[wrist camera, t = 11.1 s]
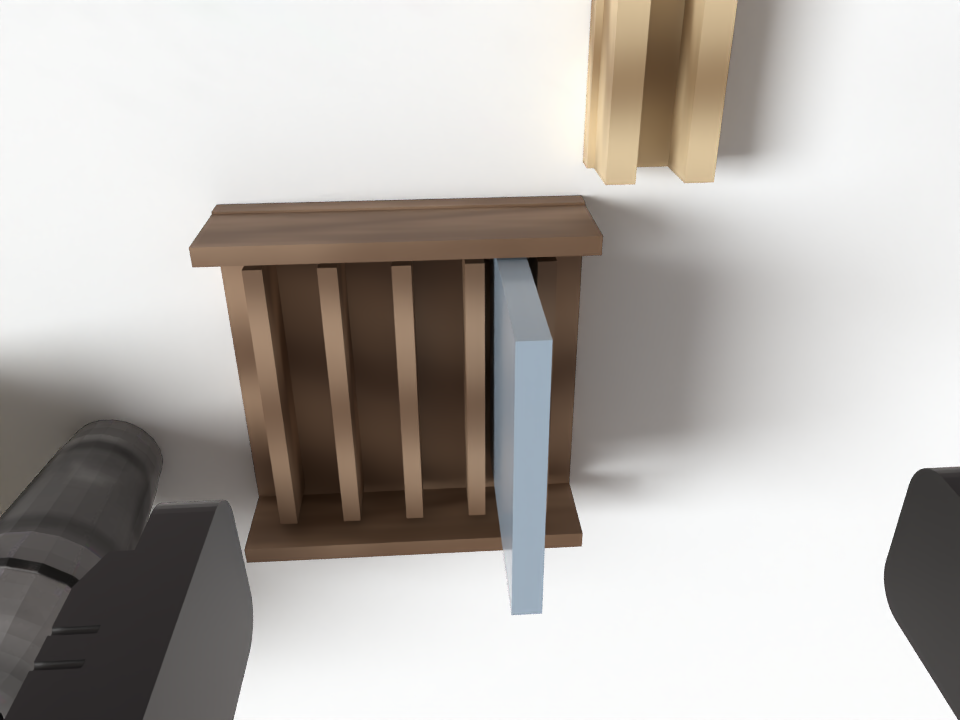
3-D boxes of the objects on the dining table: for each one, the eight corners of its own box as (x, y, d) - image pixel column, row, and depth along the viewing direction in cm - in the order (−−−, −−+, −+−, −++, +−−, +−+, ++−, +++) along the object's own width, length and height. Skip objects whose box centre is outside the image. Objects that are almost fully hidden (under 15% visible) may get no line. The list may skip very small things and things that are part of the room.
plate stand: (595, -71, 32) (614, -69, 29) (723, -72, 32) (755, -70, 29) (582, 161, 36) (598, 185, 33) (695, 159, 36) (720, 182, 33)
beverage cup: (128, 371, 39) (-106, 738, 22) (220, 478, 43) (81, 871, 25) (8, 435, 41) (-304, 831, 23) (106, 534, 44) (-102, 947, 26)
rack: (216, 204, 36) (188, 245, 31) (581, 195, 37) (603, 233, 32) (264, 498, 43) (247, 564, 39) (565, 485, 44) (581, 547, 40)
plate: (489, 227, 36) (515, 341, 26) (516, 226, 36) (552, 340, 27) (490, 453, 42) (511, 615, 32) (513, 452, 42) (541, 613, 32)
